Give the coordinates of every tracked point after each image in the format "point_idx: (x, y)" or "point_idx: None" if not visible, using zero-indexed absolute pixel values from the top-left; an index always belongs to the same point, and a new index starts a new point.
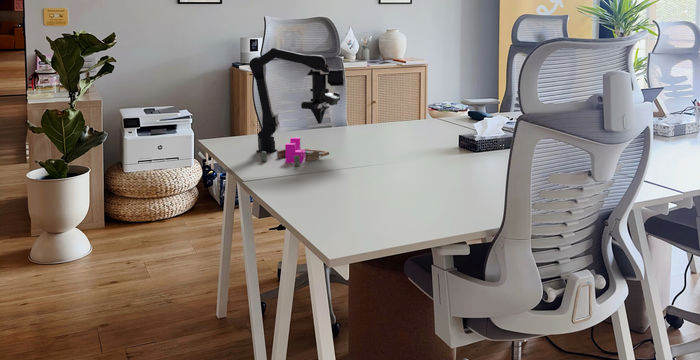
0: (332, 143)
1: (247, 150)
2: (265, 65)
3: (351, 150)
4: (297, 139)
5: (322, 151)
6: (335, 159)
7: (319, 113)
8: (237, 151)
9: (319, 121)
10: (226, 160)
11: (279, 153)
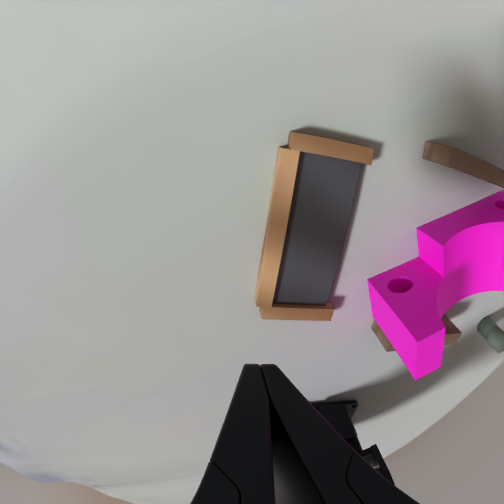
0: (2, 276)
1: None
2: None
3: (107, 51)
4: (441, 333)
5: (293, 183)
6: (414, 45)
7: (398, 498)
8: None
9: (290, 395)
10: (452, 405)
11: (456, 327)
